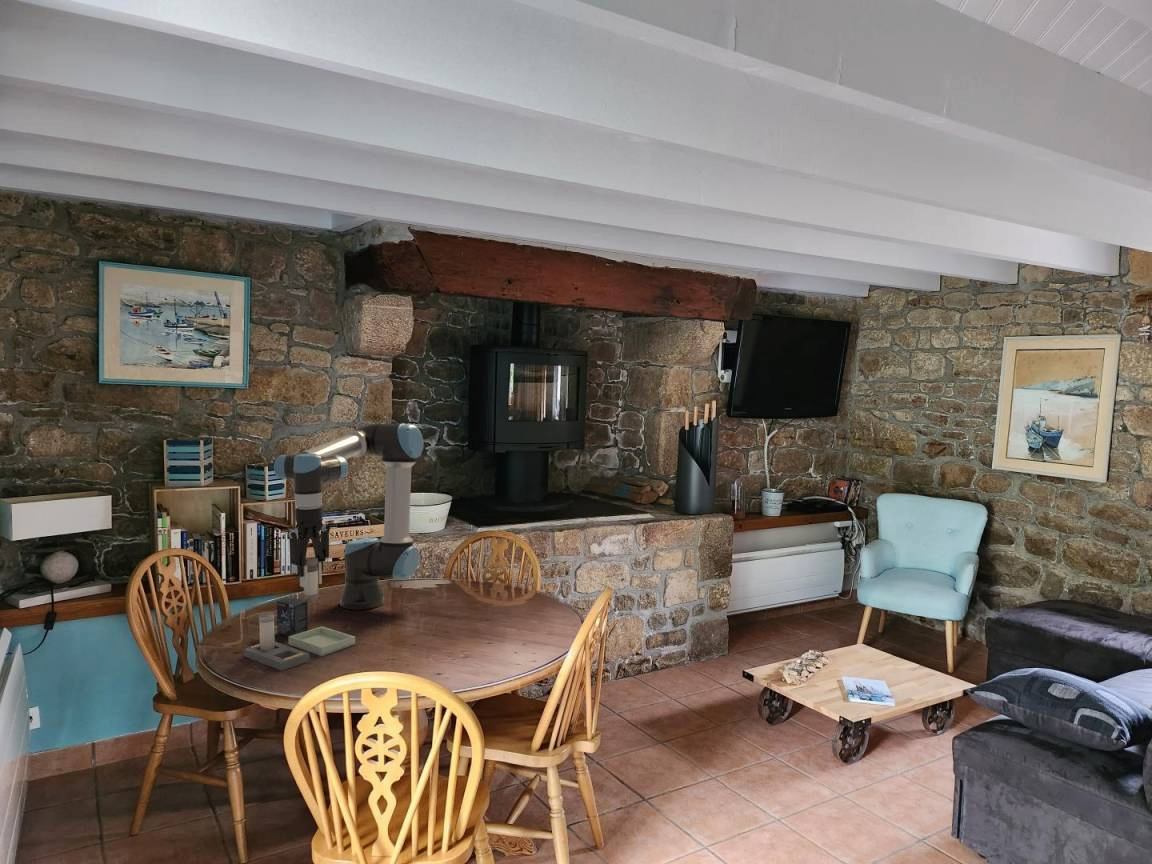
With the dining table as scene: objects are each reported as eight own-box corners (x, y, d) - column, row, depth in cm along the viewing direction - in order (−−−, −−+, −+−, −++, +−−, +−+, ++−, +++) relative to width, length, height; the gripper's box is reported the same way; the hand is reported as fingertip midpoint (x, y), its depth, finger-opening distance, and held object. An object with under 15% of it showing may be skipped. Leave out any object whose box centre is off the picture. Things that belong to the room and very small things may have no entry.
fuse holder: (244, 656, 224) (244, 648, 224) (272, 647, 231) (272, 639, 231) (281, 670, 213) (281, 661, 213) (309, 661, 221) (309, 652, 221)
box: (276, 633, 244) (276, 600, 243) (291, 628, 249) (291, 596, 248) (294, 638, 240) (293, 604, 239) (308, 633, 245) (308, 600, 244)
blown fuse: (312, 595, 232) (311, 556, 231) (321, 598, 229) (320, 558, 228) (300, 599, 228) (299, 559, 227) (309, 601, 226) (308, 561, 225)
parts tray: (288, 644, 234) (288, 636, 234) (322, 634, 244) (321, 626, 244) (321, 656, 225) (321, 647, 225) (355, 644, 235) (355, 636, 234)
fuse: (269, 651, 228) (268, 611, 227) (278, 654, 225) (277, 614, 225) (256, 655, 224) (255, 615, 224) (265, 659, 222) (264, 618, 221)
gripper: (325, 501, 236) (327, 576, 238) (274, 510, 222) (277, 589, 224) (341, 503, 231) (343, 580, 233) (290, 513, 217) (293, 594, 219)
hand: (311, 584), depth 229 cm, fingers closed on blown fuse, 4 cm apart
